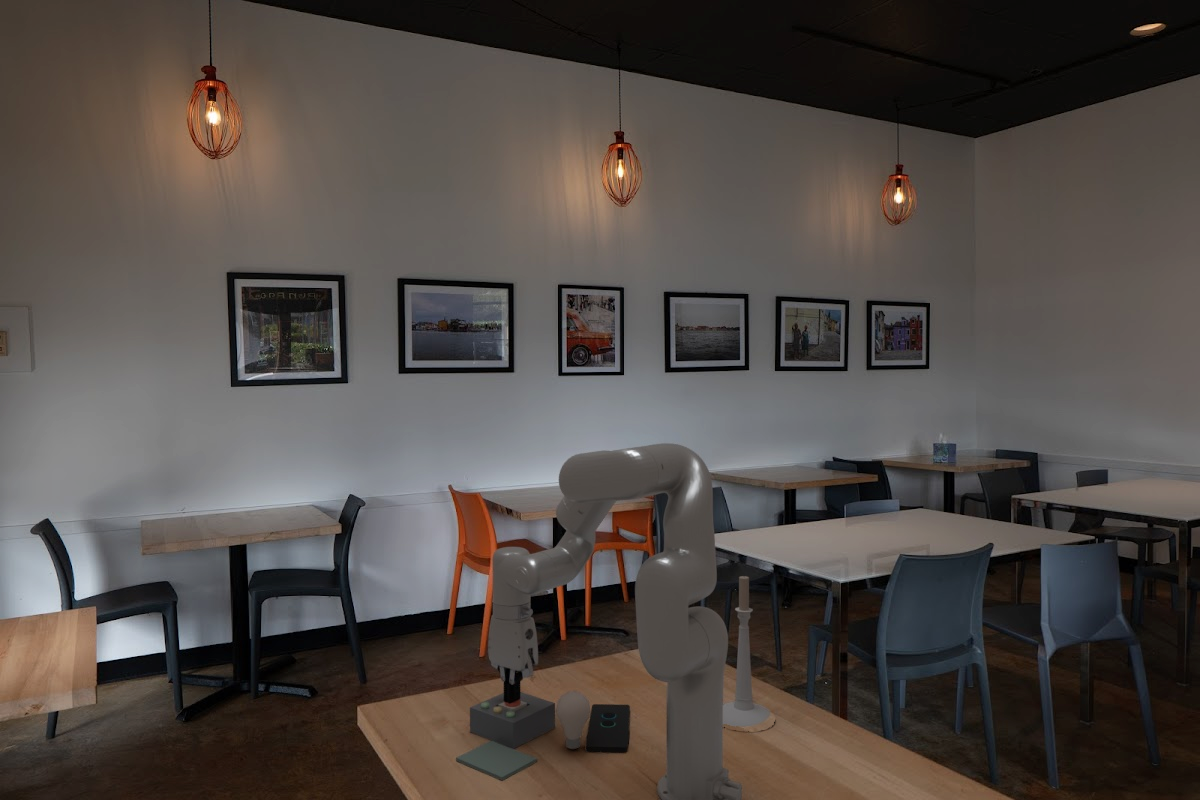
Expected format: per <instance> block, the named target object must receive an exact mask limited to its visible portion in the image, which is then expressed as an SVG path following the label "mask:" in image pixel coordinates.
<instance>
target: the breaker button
mask: <svg viewBox="0 0 1200 800" xmlns="http://www.w3.org/2000/svg"><path fill="white" fill-rule="evenodd" d="M498 706H499V707H502V709H504V710H507V711H514V712H515V711H517V710H519V709H522V708H524V707H526V706H527V703H526V702H523V701H521V700H520V699H519V700H517V701H515V702H513V703H508V702H503V703H500V704H498Z"/></svg>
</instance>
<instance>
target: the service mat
mask: <svg viewBox="0 0 1200 800" xmlns="http://www.w3.org/2000/svg"><path fill="white" fill-rule="evenodd" d="M455 761H456V762H458V763H460V764H462V765H465V766H467V767H469V768H472V769H474V770H476V771H478V772H482V774H483V773H484V774H486V775H489V776H490V777H493V778H495V779H498V780H500V781H504V780H505V779H508V778H509V777H512V776H513V775H515V774H517V773H518V772H520V771H523V770H524V769H526V768H528V767H530V766H532V765H534V764H535V763H537V762H538V757H537V758H536V757H535V756H533V755H529V754H527V753H524V752H522V751H520V750H517V749H515V748H514V749H512V748H510V747H507V746H505V745H502V744H499V743H497V742H494V741H492V740H489V741H487V742H485V743H484V744H482V745H480V746H476V747H475V748H473V749H470V750H469V751H467V752H464V753H463V754H461V755H459V756H457V757H455Z"/></svg>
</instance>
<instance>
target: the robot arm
mask: <svg viewBox="0 0 1200 800" xmlns="http://www.w3.org/2000/svg"><path fill="white" fill-rule="evenodd" d="M711 477H712V476H711V474H710V470H709V468H708V466H707V465H706V463H705V461H704V460H703V459H702V458H701V456H700V455H699V454H697V453H696V452H695V451H693V450H692V449H690V448H689V447H687V446H684V445H682V444H677V443H665V442H664V443H655V444H649V445H648V444H647V445H644V446H643V445H642V446H636V447H629V448H621V449H614V450H596V451H591V452H583V453H582V452H581V453H578V454H577V453H576V454H574V455H572V456H570V457H569V458H568V459H567V460H566V461H565V462H564V463H563V464H562V466H561V468H560V470H559V474H558V486H559V489H560V491H561V492H562V493H561V494H563V497H562V499H561V500H560V502H558V505H557V506H556V509H555V516H556V519H557V522H558V523H559V525H560V526H561V527H562V528H563V529H564V530H565V532H564V535H562V537H561V538H560V540H559V542H558V543H557V544H556V546H554V547H553V548H548V549H546V550H541V551H538V552H534V553H530V551H529V550H528V549H526V548H524V547H522V546H521V547H520V546H505V547H501V548H497V549H496V550H494V552H493V554H492V614H491V618H490V621H489V622H490V623H489V629H488V645H487V646H488V647H487V650H488V651H487V653H488V654H487V655H488V658H489V659H488V660H489V661H490V664H491V666H492V667H493V668H494V669H496V670H497V671H498V672H499V674H500V680H501V681H502V682H503V693H504V702H508V703H513V702H515V701H517V700H519V699H520V692H521V681H523V680H524V679H525V678H530V677H532V676H534V674H535V673H534V667H536V666H538V664H539V647H538V636H537V635H538V634H537V628H536V624H535V623H536V622H535V619H534V617H532V615H533V613H534V611H533V609H532V608H531V596H533V595H538V594H542V593H544V592H547V591H549V590H552V589H555V588H560V587H562V586H566V585H568V584H570V583H571V582H572V581H573V580H575V579H576V577H577V576H578V575H579V574H580V572H581V571H582V570H583V569H584V567H585V566H586V564H587V563H588V561H589V560H590V559H591V557H592V556H593V552H594V550H595V545H596V539H597V538H596V537H597V536H596V531H597V529H598V528H599V526H600V525H601V523H603V521H604V519H606V517H607V515H608V513H609V512H610V511H611V510H612V508H613V506H614V505H615V504H616V502H617V501H629V500H630V501H631V500H637V499H638V500H639V499H643V498H647V497H652V496H656V495H659V494H667V497H668V498H667V503H666V506H665V509H664V513H663V520H662V521H663V522H662V524H663V525H662V527H663V551H662V552H661V551H660V552H659V553H656V554H654V555H651V556H650V557H648V558H647V559H646V560H645V561H644V562H643V563H642V564H641V566H640V567H639V569H638V571H637V573H636V578H635V583H634V596H635V597H634V599H635V600H634V601H635V619H636V634H637V645H638V654H639V657H640V660H641V663H642V665H643V667H644V668H645V670H646V672H647V673H648V674H649V675H650V676H651V677H652V678H654V679H655V680H657V681H659V682H664V683H666V774H664V775H663V776H662V777H660V779H659V780H658V782H657V795H658V797H659V798H660V799H661V800H742V797H743V796H742V795H743V793H742V792H743V791H742V789H743V785H742V783H739V782H736V781H732V780H731V779H730V778H729V769H728V768H726V767H724V764H723V763H724V762H723V760H724V757H723V753H724V752H723V751H724V747H723V746H724V743H723V740H724V739H723V737H724V736H723V735H724V734H723V731H724V728H723V704H724V679H725V677H724V676H725V669H726V668H725V667H726V662H727V657H728V656H727V655H728V649H729V636H728V635H729V634H728V630H727V626H726V624H725V621H724V620H723V618H722V617H721V616H720V614H719V613H717V611H715V610H713V609H712V608H709V607H705V606H701V605H700V606H691V607H689V606H690V605H694V604H696V603H698V602H699V601H702V600H704V599H705V598H707V597H708V596H710V595H711V594H712V593H713V592H714V590H715V588H716V585H717V582H718V580H717V578H718V574H717V571H718V570H717V555H716V553H717V552H716V539H715V528H714V527H715V526H714V500H713V499H714V498H713V497H714V494H713V492H714V491H713V489H714V488H713V482H712V478H711Z"/></svg>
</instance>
